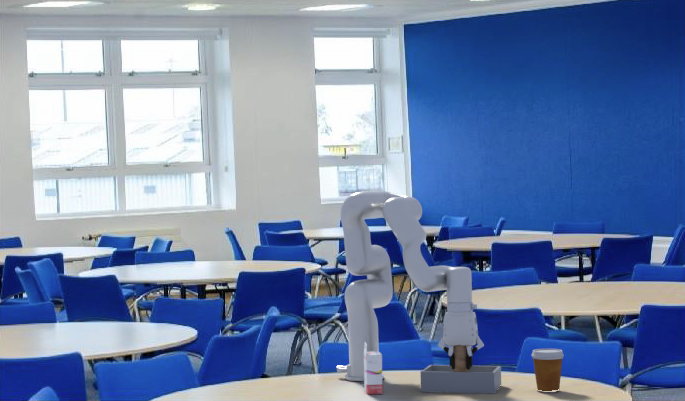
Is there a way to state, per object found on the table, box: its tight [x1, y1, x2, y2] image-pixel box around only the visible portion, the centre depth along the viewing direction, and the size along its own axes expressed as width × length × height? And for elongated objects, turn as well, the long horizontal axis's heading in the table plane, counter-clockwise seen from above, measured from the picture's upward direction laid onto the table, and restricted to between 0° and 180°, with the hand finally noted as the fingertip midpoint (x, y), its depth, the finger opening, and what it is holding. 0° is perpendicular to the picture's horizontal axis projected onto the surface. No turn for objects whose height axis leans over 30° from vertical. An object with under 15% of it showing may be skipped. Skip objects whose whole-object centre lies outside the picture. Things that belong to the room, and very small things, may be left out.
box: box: [420, 364, 502, 394], centre depth 367 cm, size 22×14×6 cm, turn 75°
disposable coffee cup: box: [530, 348, 565, 391], centre depth 359 cm, size 10×10×12 cm
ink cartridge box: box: [363, 343, 384, 395], centre depth 365 cm, size 9×5×15 cm, turn 5°
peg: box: [454, 344, 468, 372], centre depth 367 cm, size 4×4×10 cm
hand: (461, 368), depth 367 cm, fingers closed on peg, 4 cm apart
